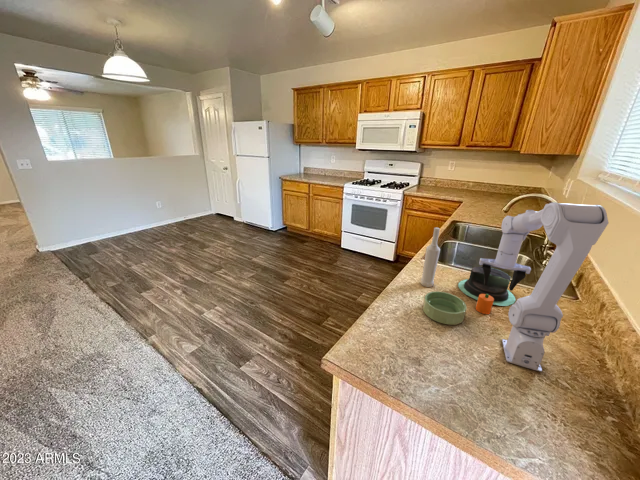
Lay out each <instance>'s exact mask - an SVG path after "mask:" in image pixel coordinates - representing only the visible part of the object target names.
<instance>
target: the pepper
mask: <svg viewBox="0 0 640 480" xmlns="http://www.w3.org/2000/svg"><path fill="white" fill-rule="evenodd" d="M476 301H477V302H476V305H475V311H477V312H478V313H480V314H482V315H490V314H491V311H492V308H493V305H494V304H493V302H494V298H493V297H492V296H490V295H489V294H480V295H479V297H478V300H476Z"/></svg>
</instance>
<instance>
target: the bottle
mask: <svg viewBox="0 0 640 480" xmlns="http://www.w3.org/2000/svg"><path fill="white" fill-rule="evenodd" d="M440 231H441V228H439V227H433V234H432V240H431V243H430V244H429V245H427V246H426V249H425V256H424V262H423V269H422V275H421V278H420V285H421V286H423V287H426V288H433V286H434V283H435V281H434V280H435V275H436V271H437V266H438V263H439V257H440V253H441V248H440V247H439V246H438V242H439V241H438V240H439V236H440Z"/></svg>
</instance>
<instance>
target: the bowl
mask: <svg viewBox="0 0 640 480" xmlns="http://www.w3.org/2000/svg"><path fill="white" fill-rule="evenodd" d="M423 300H424V301H423V305H422V311H423V313H424V314H425V315H426V316H427V317H428V318H429V319H431V320H433V321H434V322H436V323H440V324H444V325H451V326H455V325H459V324H461V323H462V322H464V320H465V316H466V313H467V309H468V308H467V304H466V302H465V301H464V300H463V299H462V298H460V297H459V296H457V295H454V294H452V293H450V292H445V291H439V290H437V291H435V290H434V291H429V292H427V293H426V294H425V295H424V299H423Z"/></svg>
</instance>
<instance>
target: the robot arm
mask: <svg viewBox="0 0 640 480" xmlns="http://www.w3.org/2000/svg"><path fill="white" fill-rule="evenodd" d="M608 225H609V218H608V214H607V210H606V209H605V207H604V206H602V205H601V204H581V203H580V204H579V203H561V202H555V201H553V202H549V203H545V205H544V207H543V209H541V210H539V211H536V210H534V209H526V210H525V212H523V213H518V214H517V215H515V216H511V215H506V216H505V217H503V219H502V222H501V229H500V230H501V232H502V235H501V239H500V242H499V246H498V248H497V253H496V256H495V258H482V257H480V258H479V262H478V264H479V266H481V267H483V271H484V285H487V283H488V278H489V275H490V272H491V268H496V269H498V268H499V269H503V270H508V271H513V273H512V276H511V279H510V282H509V286H508V290H509V291H510V292H513V291H514V289H515V288H516V286H517V285H518V284H519V283H520V282H522V280H524V279H526V276H527V275H530V274H531V271H532V268H531V266H529V265H524V264H520V263H517V260H518V257H519V253H520V250H521V248H522V244H523V242H525V240H526V238H527V236H528V235H529V234H530V232H533V231H537V230H539V229H541V228H542V227H543V229H544V231H545V234H546V237H547V239H548V241H549V242H550V243H553V244H554V245H555V246H556V247H555V249H554V251H553V253H552V255H551V257H550V258H549V260H548V262H547V264H546V266H545V268H544V269H543V272H542V273H541V275H540V277H538V281H537V282H536V284H535V286H534V288H533V290H532V291H531V293H530V294H529V295H525V296H523V297H519V298H517V299H516V300H515V302H514V303H513V304H511V305H510V307H509V309H508V320H509V321H508V322H510V324H511V329H510V332H509V335H508V338H507V339H503V338H502V339H501V343H502V348H503V351H504V356H505V360H506V362H507V363H510V364H514V365H517V366H519V367H523V368H527V369H529V370H533V371H536V372H540V373H542V372H543V368H542V366H541V363H542V360H543V358H544V356H545V353H546V352H545V348H544V340H545V338H546V337H549V336H550V334H551V333H552V334H554V333H556V332H557V331H558V330H559V329H560V326H561V321H562V318H563V317H564V314H563V311H562V309H561V308H560V307H559V306H558V302H559V301H560V299H561V298H562V296H563V294H564V293H565V292H566V290H567V288H568V286H569V285H570V284H571V282H572V280H573V279H574V278H575V276H576V274H577V272H578V271H579V269H580V268H581V266H582V265H583V263H584V261H585V260H586V258H587V257H588V256H589V254H590V252H591V249H592V248H593V246H594V245H596V244H597V243H598V240H599V239H600V237H601V236H602V234H603V233H604V232H605V230H606V228H607V227H608Z"/></svg>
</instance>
